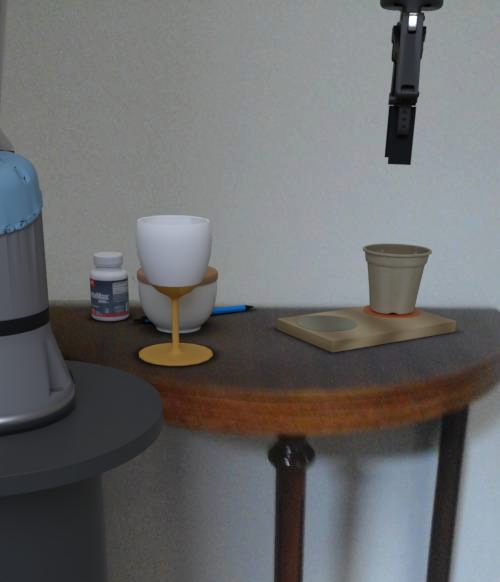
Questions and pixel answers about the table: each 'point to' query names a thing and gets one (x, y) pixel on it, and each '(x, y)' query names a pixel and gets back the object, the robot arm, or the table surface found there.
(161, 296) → the trinket box
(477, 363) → the table surface
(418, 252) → the flower pot
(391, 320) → the board
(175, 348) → the cup
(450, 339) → the table surface
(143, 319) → the pen
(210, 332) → the table surface
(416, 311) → the circle
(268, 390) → the table surface
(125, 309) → the pill bottle
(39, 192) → the robot arm
